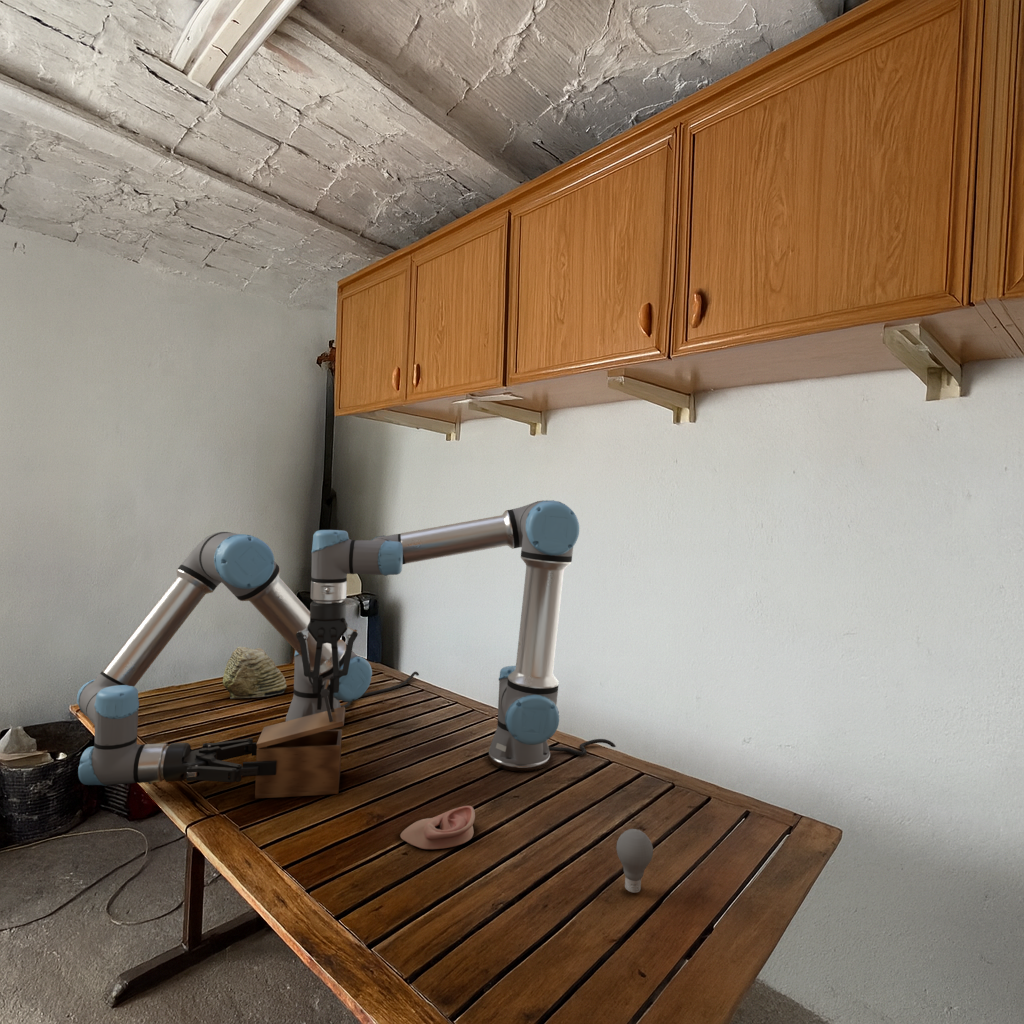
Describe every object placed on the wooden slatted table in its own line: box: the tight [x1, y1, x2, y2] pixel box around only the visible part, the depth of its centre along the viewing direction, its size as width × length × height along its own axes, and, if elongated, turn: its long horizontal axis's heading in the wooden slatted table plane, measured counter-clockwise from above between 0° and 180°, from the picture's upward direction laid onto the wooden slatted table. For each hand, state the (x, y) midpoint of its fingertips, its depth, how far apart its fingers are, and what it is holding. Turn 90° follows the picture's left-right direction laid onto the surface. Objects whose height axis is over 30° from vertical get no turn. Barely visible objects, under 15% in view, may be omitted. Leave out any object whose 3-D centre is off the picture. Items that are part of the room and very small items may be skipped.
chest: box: [254, 729, 343, 800], centre depth 138 cm, size 17×10×10 cm, turn 103°
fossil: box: [222, 646, 288, 699], centre depth 198 cm, size 9×18×15 cm, turn 132°
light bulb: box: [615, 828, 654, 894], centre depth 106 cm, size 6×6×10 cm
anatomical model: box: [399, 805, 476, 850], centre depth 121 cm, size 13×4×12 cm
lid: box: [256, 679, 346, 749], centre depth 138 cm, size 18×10×8 cm, turn 102°
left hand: (279, 757), depth 137 cm, fingers closed on chest, 10 cm apart
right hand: (325, 707), depth 139 cm, fingers closed on lid, 2 cm apart
